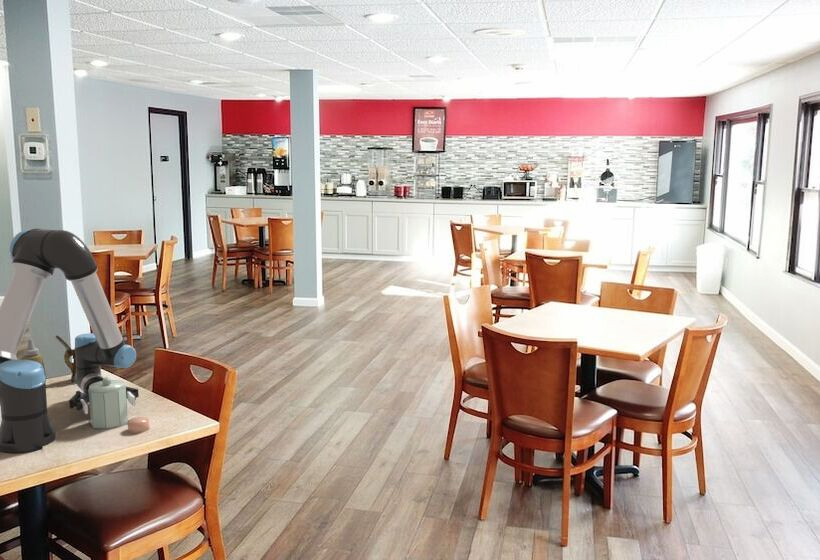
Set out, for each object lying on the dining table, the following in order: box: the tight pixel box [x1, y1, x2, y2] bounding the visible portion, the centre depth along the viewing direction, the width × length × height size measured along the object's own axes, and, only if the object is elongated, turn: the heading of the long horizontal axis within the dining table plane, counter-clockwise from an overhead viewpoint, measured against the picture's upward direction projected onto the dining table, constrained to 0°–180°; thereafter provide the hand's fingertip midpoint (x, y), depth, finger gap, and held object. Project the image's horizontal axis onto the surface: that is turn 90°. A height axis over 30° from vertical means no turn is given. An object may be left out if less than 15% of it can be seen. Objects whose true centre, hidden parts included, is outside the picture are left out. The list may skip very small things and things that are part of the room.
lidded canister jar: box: [88, 376, 129, 430], centre depth 223 cm, size 10×10×14 cm
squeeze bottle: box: [21, 338, 47, 381], centre depth 258 cm, size 8×8×18 cm
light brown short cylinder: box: [127, 416, 150, 434], centre depth 219 cm, size 6×6×4 cm
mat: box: [88, 420, 128, 431], centre depth 225 cm, size 10×10×1 cm
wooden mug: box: [55, 335, 76, 383], centre depth 269 cm, size 9×14×18 cm, turn 131°
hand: (110, 405), depth 221 cm, fingers open, 13 cm apart
